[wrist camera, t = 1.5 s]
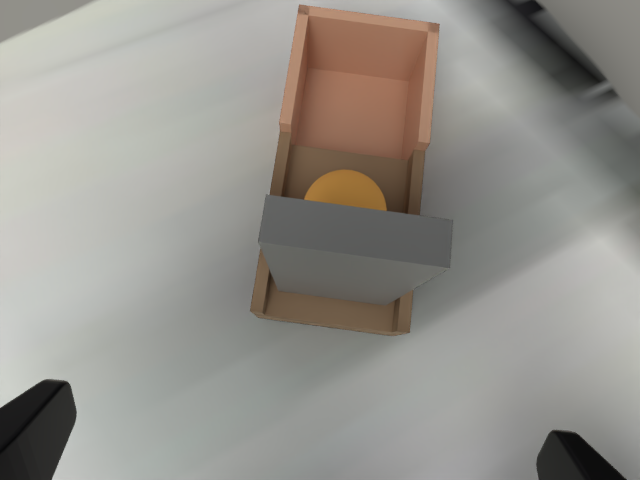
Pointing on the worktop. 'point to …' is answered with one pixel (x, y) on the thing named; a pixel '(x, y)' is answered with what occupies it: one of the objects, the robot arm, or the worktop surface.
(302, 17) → the cup
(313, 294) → the plunger
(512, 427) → the worktop surface
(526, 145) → the worktop surface
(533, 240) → the worktop surface
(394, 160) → the tray
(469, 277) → the worktop surface
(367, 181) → the ball
